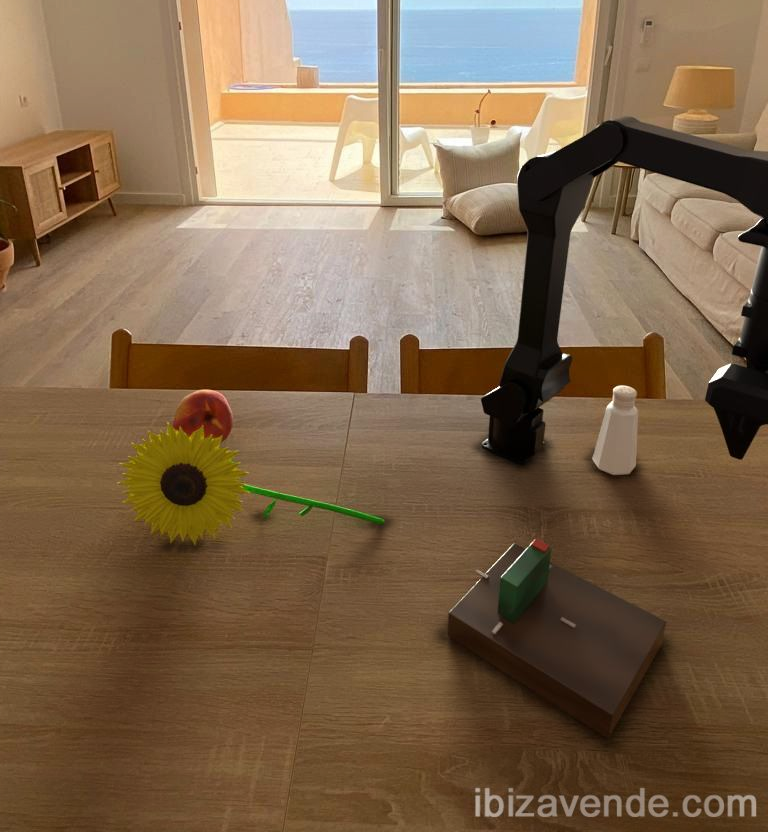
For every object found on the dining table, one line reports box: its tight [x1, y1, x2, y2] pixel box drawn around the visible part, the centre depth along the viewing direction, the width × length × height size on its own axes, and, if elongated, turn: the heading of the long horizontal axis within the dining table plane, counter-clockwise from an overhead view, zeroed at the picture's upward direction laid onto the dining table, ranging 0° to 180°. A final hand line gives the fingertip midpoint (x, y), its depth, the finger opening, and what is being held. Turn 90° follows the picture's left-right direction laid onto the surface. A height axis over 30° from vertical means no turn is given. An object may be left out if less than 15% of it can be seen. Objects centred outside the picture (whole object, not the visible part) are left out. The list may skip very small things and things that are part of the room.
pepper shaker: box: [591, 385, 639, 476], centre depth 88 cm, size 5×5×11 cm
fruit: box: [172, 389, 234, 444], centre depth 94 cm, size 8×8×8 cm
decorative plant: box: [117, 421, 385, 546], centre depth 78 cm, size 15×6×30 cm
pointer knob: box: [498, 538, 553, 623], centre depth 65 cm, size 6×2×5 cm, turn 140°
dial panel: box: [447, 542, 667, 740], centre depth 65 cm, size 12×17×3 cm
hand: (748, 436), depth 71 cm, fingers open, 9 cm apart
